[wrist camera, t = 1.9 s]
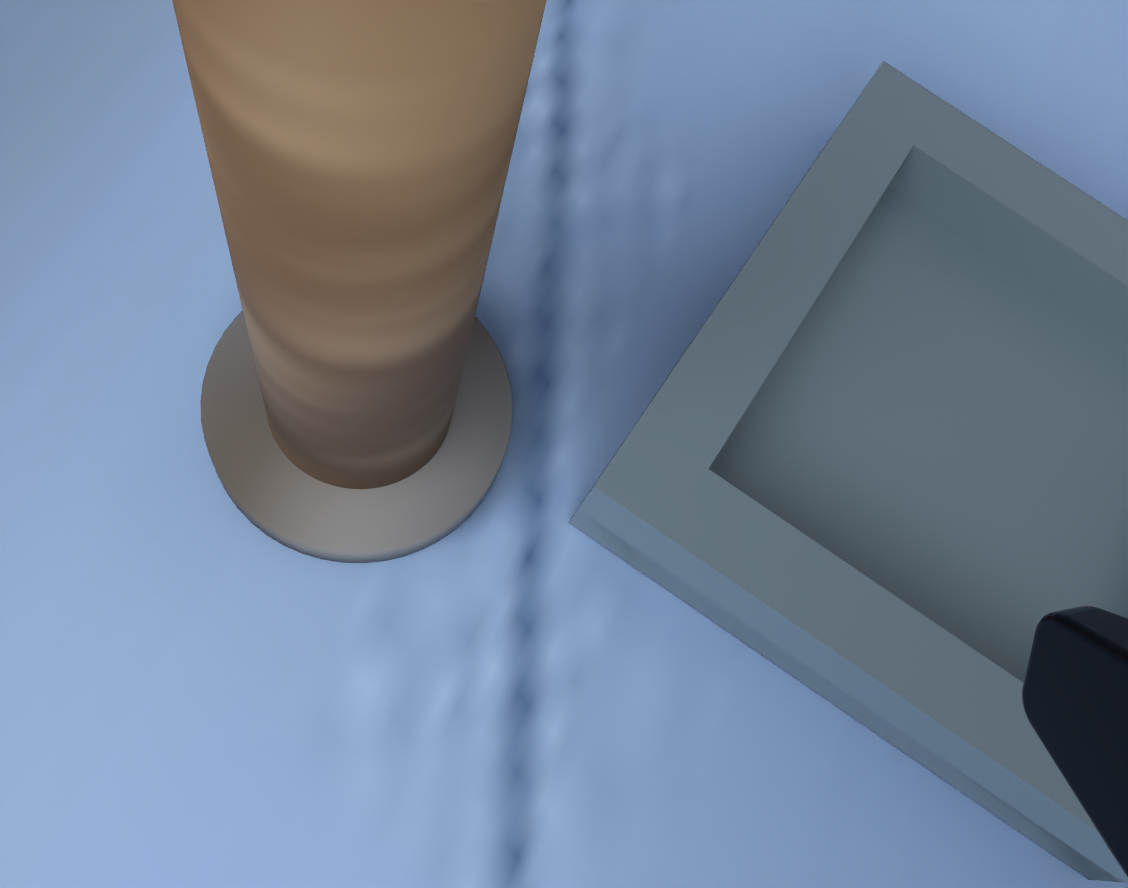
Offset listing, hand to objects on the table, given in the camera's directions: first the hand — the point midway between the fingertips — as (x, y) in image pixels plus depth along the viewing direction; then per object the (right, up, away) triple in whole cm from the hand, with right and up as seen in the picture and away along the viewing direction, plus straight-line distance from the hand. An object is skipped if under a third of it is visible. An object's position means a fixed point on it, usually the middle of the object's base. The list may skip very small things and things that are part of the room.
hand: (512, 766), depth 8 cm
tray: (+9, +2, +16) cm, 18 cm away
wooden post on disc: (-4, +3, +14) cm, 15 cm away
